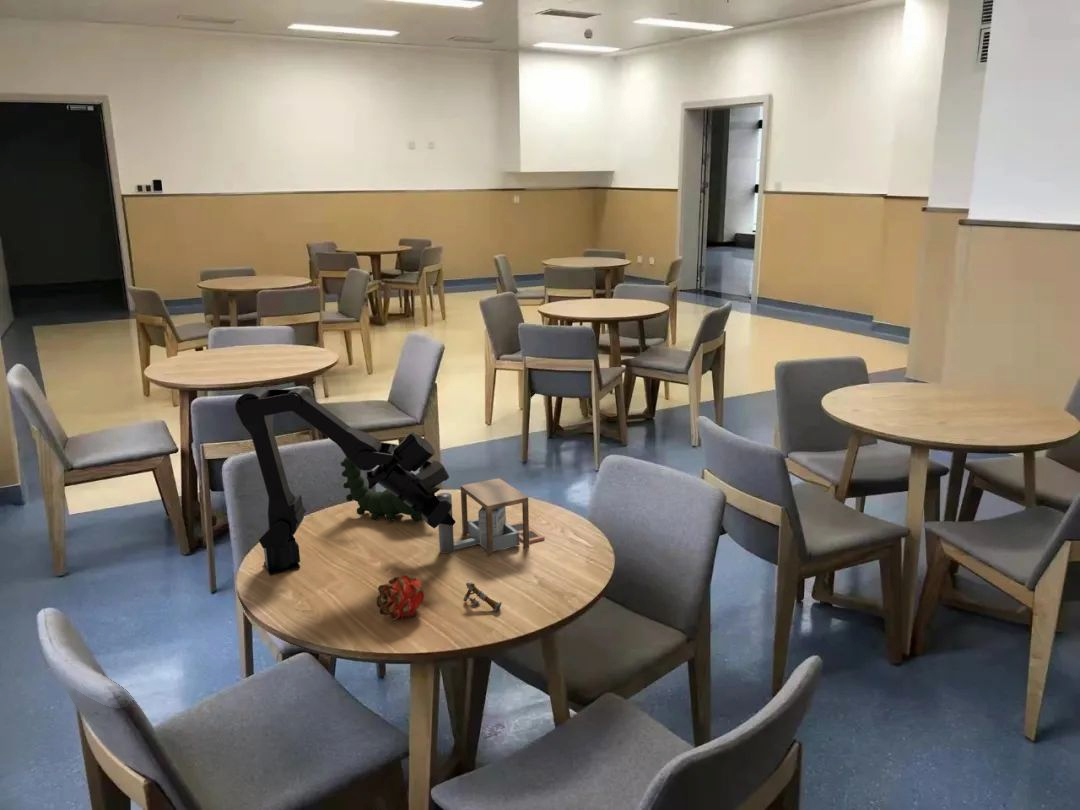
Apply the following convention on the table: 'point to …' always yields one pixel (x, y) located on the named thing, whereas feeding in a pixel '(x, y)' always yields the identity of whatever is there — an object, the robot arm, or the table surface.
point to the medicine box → (497, 521)
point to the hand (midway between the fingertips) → (451, 520)
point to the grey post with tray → (474, 535)
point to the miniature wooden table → (494, 505)
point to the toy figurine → (374, 497)
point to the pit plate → (532, 533)
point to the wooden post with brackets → (481, 595)
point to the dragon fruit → (400, 597)
